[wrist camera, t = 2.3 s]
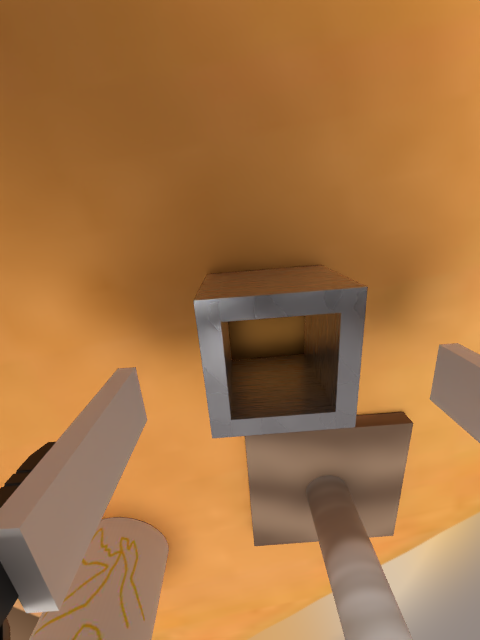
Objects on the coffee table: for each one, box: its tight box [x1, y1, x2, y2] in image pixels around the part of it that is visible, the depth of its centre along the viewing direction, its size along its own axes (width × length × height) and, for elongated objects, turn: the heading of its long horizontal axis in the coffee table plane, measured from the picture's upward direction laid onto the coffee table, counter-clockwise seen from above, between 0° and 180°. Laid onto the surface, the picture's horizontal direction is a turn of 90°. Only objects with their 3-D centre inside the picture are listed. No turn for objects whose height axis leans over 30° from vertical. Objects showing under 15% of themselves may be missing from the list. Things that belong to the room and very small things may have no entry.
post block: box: [245, 412, 413, 640], centre depth 18 cm, size 12×12×10 cm
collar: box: [193, 265, 368, 438], centre depth 15 cm, size 7×7×6 cm
